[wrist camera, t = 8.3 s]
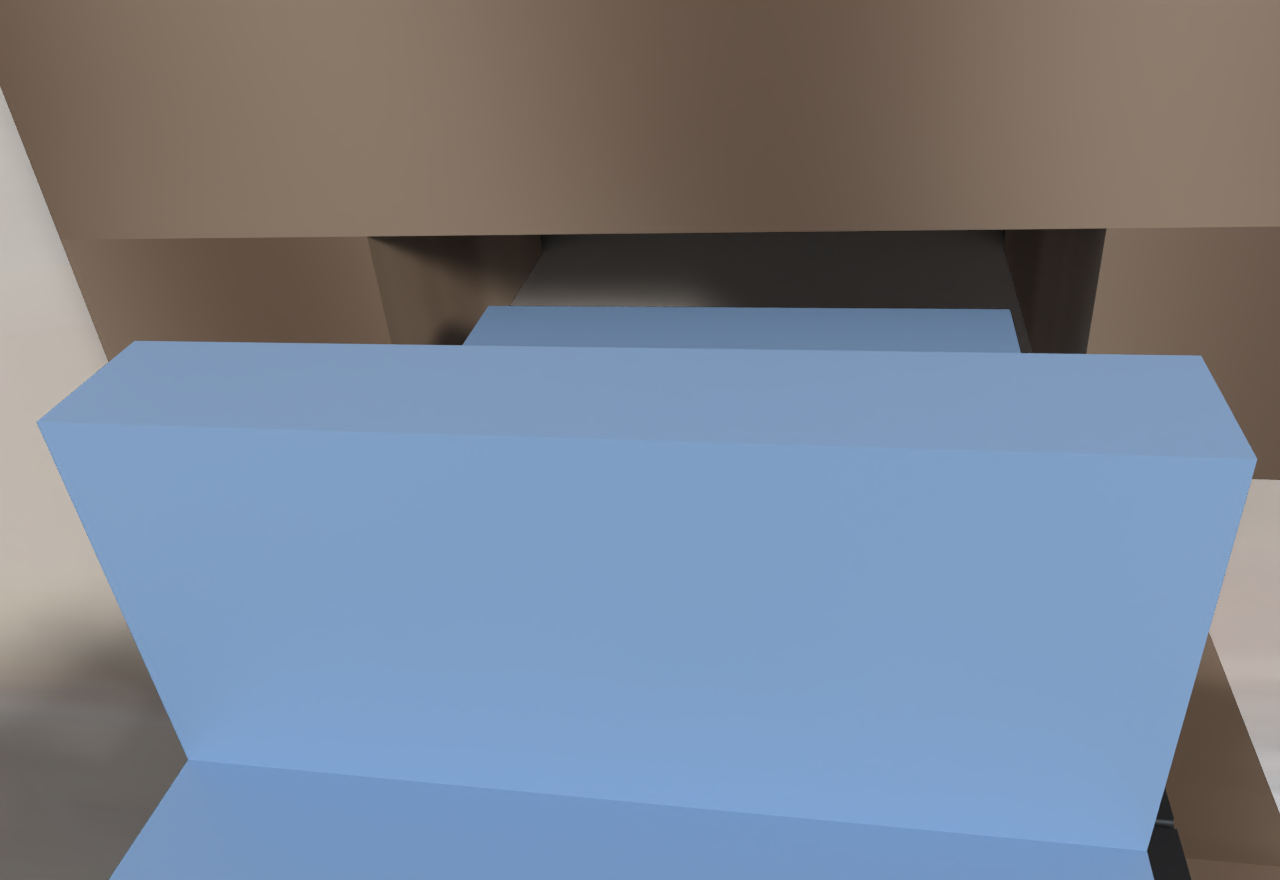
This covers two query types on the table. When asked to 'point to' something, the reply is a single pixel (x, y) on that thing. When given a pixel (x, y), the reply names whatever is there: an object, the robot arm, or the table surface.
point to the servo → (660, 594)
